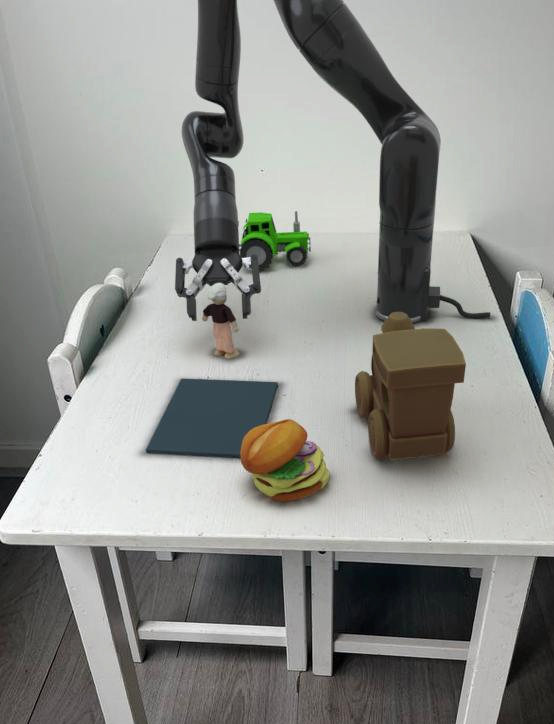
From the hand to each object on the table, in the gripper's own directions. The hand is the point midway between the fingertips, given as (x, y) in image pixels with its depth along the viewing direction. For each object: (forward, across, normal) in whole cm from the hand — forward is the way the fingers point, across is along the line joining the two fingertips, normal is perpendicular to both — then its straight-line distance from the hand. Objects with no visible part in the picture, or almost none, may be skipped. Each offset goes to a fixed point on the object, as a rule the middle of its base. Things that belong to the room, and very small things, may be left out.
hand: (219, 318), depth 124 cm
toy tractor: (-24, +9, +34) cm, 42 cm away
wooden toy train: (+23, +27, -14) cm, 38 cm away
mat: (+19, 0, -9) cm, 21 cm away
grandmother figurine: (+4, 0, +6) cm, 7 cm away
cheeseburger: (+31, +10, -21) cm, 38 cm away
